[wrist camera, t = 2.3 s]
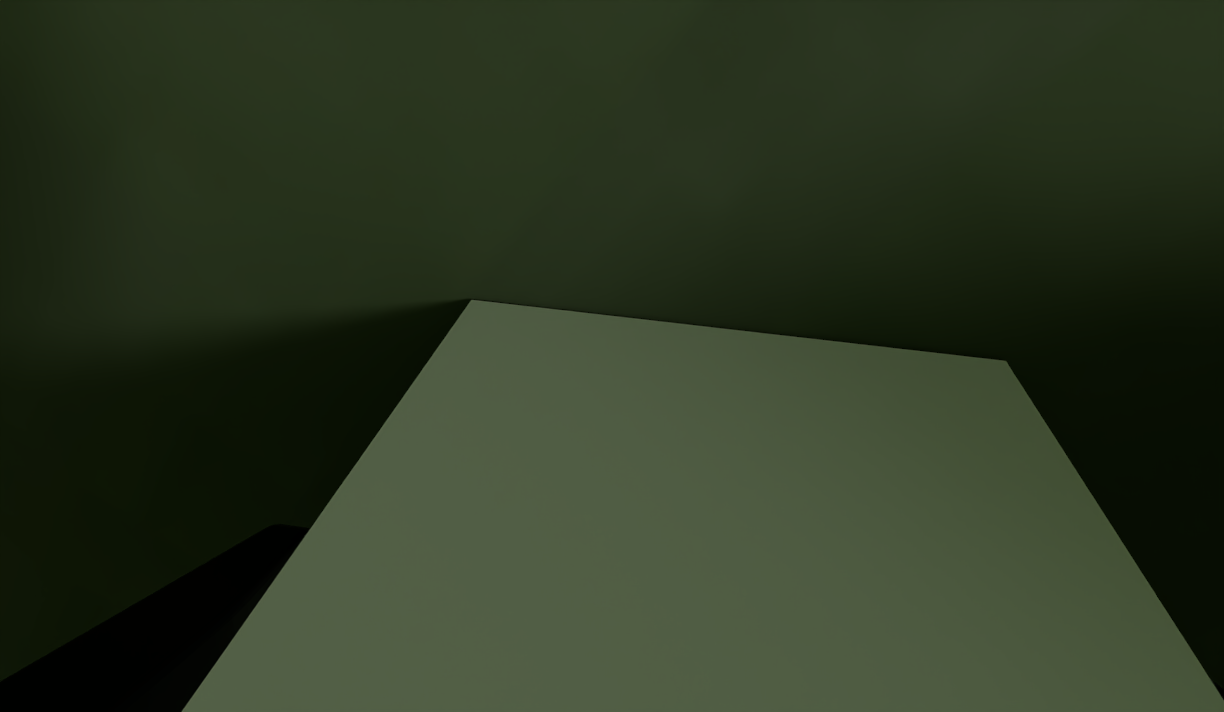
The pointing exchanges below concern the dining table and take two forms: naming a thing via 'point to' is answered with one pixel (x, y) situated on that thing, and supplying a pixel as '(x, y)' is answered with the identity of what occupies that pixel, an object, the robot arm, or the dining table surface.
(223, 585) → the robot arm
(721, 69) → the dining table surface
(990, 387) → the pale grey block
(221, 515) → the dining table surface
